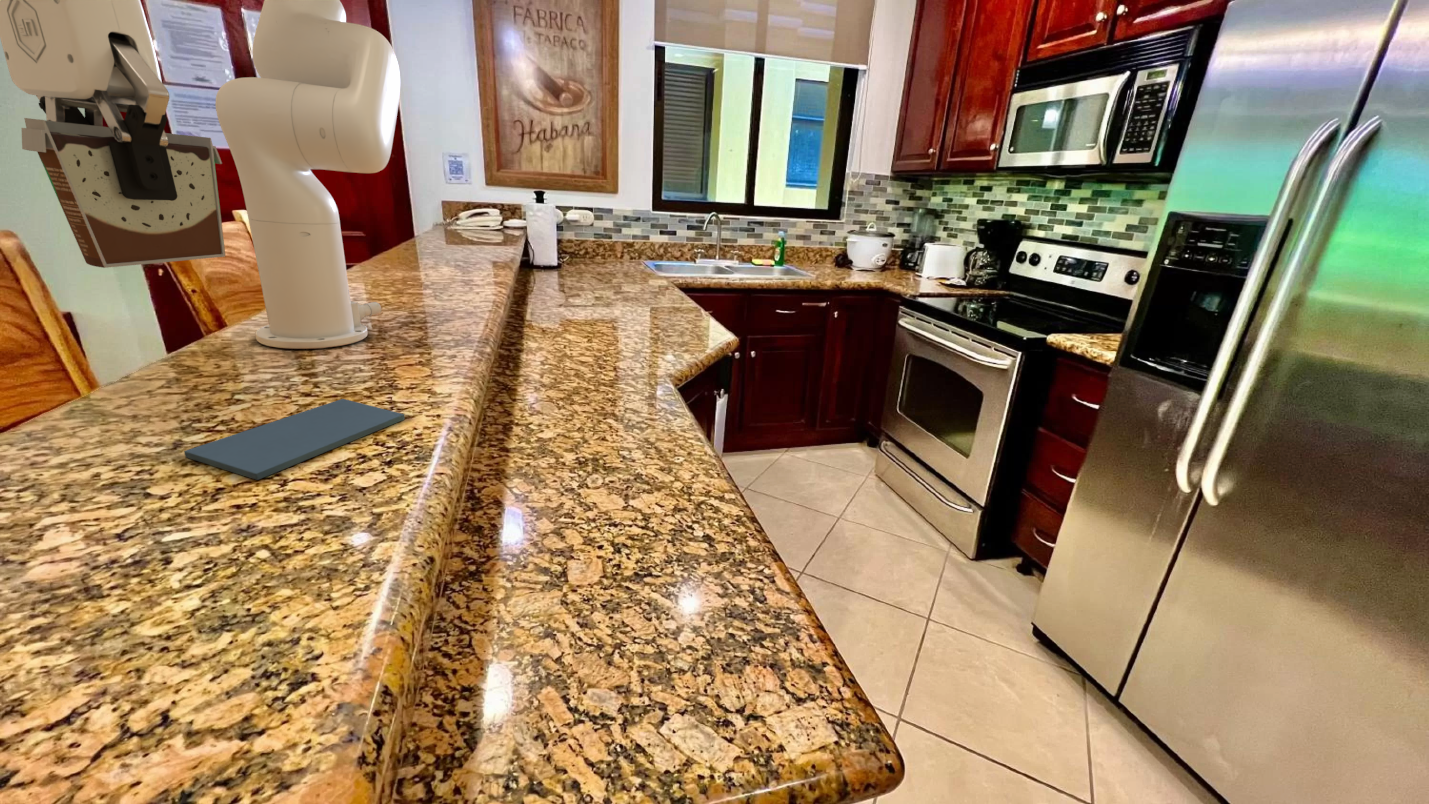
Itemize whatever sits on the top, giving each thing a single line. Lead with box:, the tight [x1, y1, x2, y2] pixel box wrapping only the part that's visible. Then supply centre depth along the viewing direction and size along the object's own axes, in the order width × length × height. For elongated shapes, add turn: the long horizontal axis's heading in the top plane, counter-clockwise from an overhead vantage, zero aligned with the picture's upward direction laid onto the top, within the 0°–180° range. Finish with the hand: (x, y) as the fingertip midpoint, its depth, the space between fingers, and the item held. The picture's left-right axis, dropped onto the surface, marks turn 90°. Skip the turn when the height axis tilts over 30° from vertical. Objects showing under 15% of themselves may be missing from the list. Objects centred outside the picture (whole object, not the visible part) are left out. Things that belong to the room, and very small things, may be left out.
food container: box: [21, 117, 227, 269], centre depth 45 cm, size 12×6×10 cm, turn 171°
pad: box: [183, 398, 406, 481], centre depth 50 cm, size 14×8×1 cm, turn 162°
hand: (123, 192), depth 45 cm, fingers closed on food container, 6 cm apart
